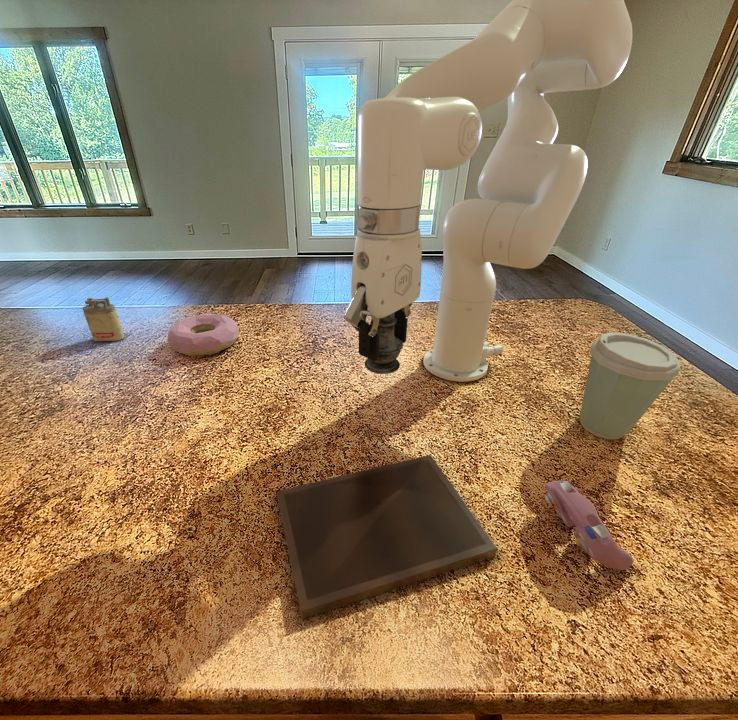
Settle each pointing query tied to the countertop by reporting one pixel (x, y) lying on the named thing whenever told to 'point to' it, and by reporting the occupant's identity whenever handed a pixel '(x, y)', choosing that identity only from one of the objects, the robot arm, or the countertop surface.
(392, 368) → the stone chess piece
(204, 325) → the donut
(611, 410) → the disposable coffee cup
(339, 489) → the board
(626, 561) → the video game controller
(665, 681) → the countertop surface
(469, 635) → the countertop surface
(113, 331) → the lighter
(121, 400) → the countertop surface
